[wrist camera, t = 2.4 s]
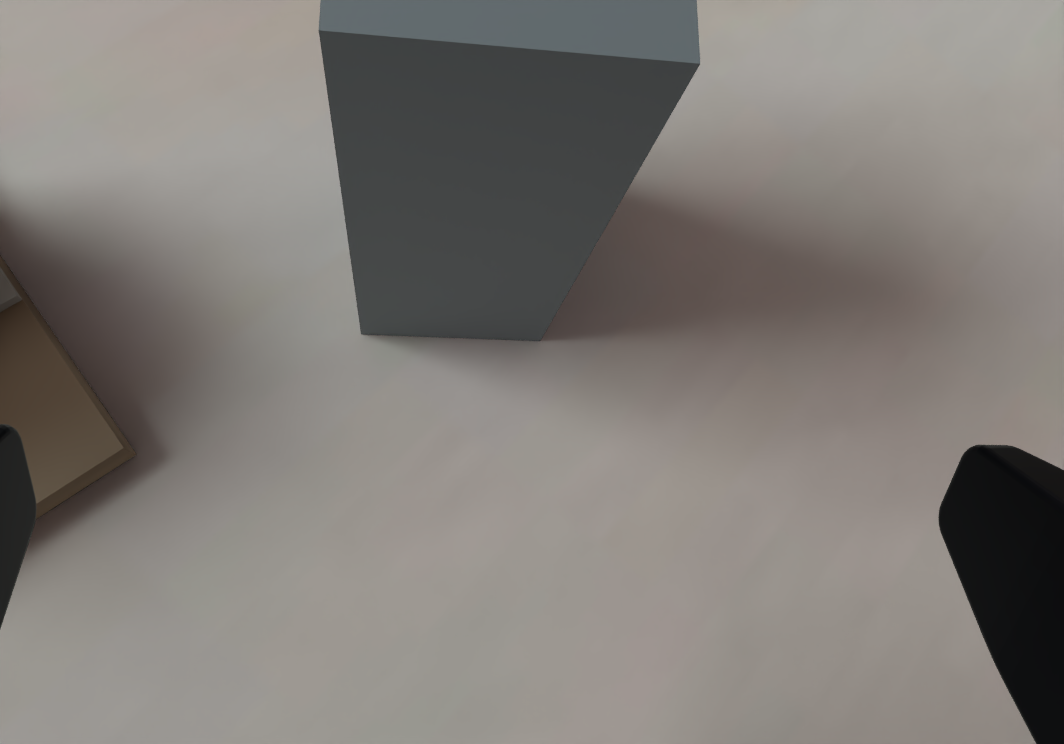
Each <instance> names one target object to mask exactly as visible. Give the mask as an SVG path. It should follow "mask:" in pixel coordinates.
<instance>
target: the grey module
mask: <svg viewBox="0 0 1064 744" xmlns="http://www.w3.org/2000/svg"><path fill="white" fill-rule="evenodd" d="M319 35H320V42H321V49H322V57H323V64H324V71H325V78H326V85H327V93H328V100H329V107H330V114H331V121H332V128H333V136H334V143H335V150H336V157H337V164H338V171H339V179H340V186H341V193H342V200H343V207H344V215H345V222H346V229H347V236H348V243H349V250H350V258H351V265H352V272H353V279H354V286H355V293H356V301H357V308H358V315H359V322H360V329H361V334H370V335H396V336H423V337H449V338H475V339H501V340H528V341H540V340H541V339H542V337H543V335H544V333H545V332H546V330H547V328H548V326H549V325H550V323H551V321H552V319H553V318H554V316H555V314H556V313H557V311H558V309H559V307H560V306H561V304H562V302H563V300H564V299H565V297H566V295H567V293H568V292H569V290H570V288H571V287H572V285H573V283H574V281H575V280H576V278H577V276H578V274H579V273H580V271H581V269H582V267H583V266H584V264H585V262H586V261H587V259H588V257H589V255H590V254H591V252H592V250H593V248H594V247H595V245H596V243H597V242H598V240H599V238H600V236H601V235H602V233H603V231H604V229H605V228H606V226H607V224H608V222H609V221H610V219H611V217H612V216H613V214H614V212H615V210H616V209H617V207H618V205H619V203H620V202H621V200H622V198H623V196H624V195H625V193H626V191H627V190H628V188H629V186H630V184H631V183H632V181H633V179H634V177H635V176H636V174H637V172H638V171H639V169H640V167H641V165H642V164H643V162H644V160H645V158H646V157H647V155H648V153H649V151H650V150H651V148H652V146H653V145H654V143H655V141H656V139H657V138H658V136H659V134H660V132H661V131H662V129H663V127H664V125H665V124H666V122H667V120H668V119H669V117H670V115H671V113H672V112H673V110H674V108H675V106H676V105H677V103H678V101H679V99H680V98H681V96H682V94H683V93H684V91H685V89H686V87H687V86H688V84H689V82H690V80H691V79H692V77H693V75H694V74H695V72H696V70H697V68H698V67H699V65H700V52H699V35H698V17H697V0H321V4H320V20H319Z"/></svg>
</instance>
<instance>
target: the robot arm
mask: <svg viewBox="0 0 1064 744" xmlns="http://www.w3.org/2000/svg"><path fill="white" fill-rule="evenodd" d="M35 519H36V497H35V493H34V489H33V484H32V480H31V476H30V472H29V468H28V464H27V459H26V455H25V451H24V447H23V443H22V440H21V437H20V435H19V433H18V431H17V430H16V429H15V428H13V427H12V426H10V425H8V424H0V629H1V625H2V622H3V619H4V616H5V613H6V610H7V607H8V604H9V601H10V598H11V595H12V592H13V589H14V586H15V583H16V580H17V577H18V574H19V571H20V568H21V564H22V561H23V558H24V555H25V552H26V549H27V546H28V543H29V540H30V537H31V534H32V531H33V528H34V524H35ZM939 526H940V531H941V534H942V536H943V539H944V541H945V544H946V546H947V549H948V551H949V554H950V556H951V559H952V561H953V564H954V566H955V569H956V571H957V573H958V576H959V578H960V581H961V583H962V586H963V588H964V591H965V593H966V596H967V598H968V601H969V603H970V606H971V608H972V610H973V613H974V615H975V618H976V620H977V623H978V625H979V628H980V630H981V633H982V635H983V638H984V640H985V642H986V645H987V647H988V649H989V652H990V654H991V656H992V658H993V661H994V663H995V665H996V667H997V669H998V671H999V673H1000V675H1001V677H1002V679H1003V681H1004V683H1005V685H1006V687H1007V689H1008V691H1009V693H1010V695H1011V697H1012V698H1013V700H1014V702H1015V704H1016V706H1017V708H1018V710H1019V712H1020V714H1021V716H1022V718H1023V719H1024V721H1025V723H1026V725H1027V727H1028V729H1029V731H1030V733H1031V735H1032V737H1033V738H1034V740H1035V742H1036V744H1064V470H1062V469H1060V468H1058V467H1056V466H1054V465H1052V464H1050V463H1048V462H1046V461H1044V460H1042V459H1040V458H1037V457H1035V456H1033V455H1031V454H1029V453H1027V452H1025V451H1023V450H1021V449H1019V448H1016V447H1013V446H1008V445H975V446H973V447H970V448H969V449H968V450H967V451H966V452H965V453H964V454H963V456H962V458H961V460H960V462H959V464H958V467H957V469H956V471H955V473H954V476H953V478H952V480H951V483H950V485H949V487H948V489H947V492H946V494H945V496H944V499H943V501H942V503H941V506H940V510H939Z"/></svg>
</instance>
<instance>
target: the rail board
mask: <svg viewBox="0 0 1064 744" xmlns="http://www.w3.org/2000/svg"><path fill="white" fill-rule="evenodd" d="M0 424H8V425H10V426H12V427H13V428H15V429H16V430H17V431H18V433H19V435H20V437H21V440H22V443H23V447H24V451H25V455H26V459H27V464H28V468H29V472H30V476H31V480H32V484H33V489H34V493H35V497H36V519H37V518H39V517H40V516H42V515H43V514H45V513H46V512H48V511H50V510H51V509H53V508H54V507H56V506H57V505H59V504H60V503H62V502H64V501H65V500H67V499H68V498H70V497H71V496H73V495H74V494H76V493H78V492H79V491H81V490H82V489H84V488H85V487H87V486H88V485H90V484H92V483H93V482H95V481H96V480H98V479H99V478H101V477H102V476H104V475H106V474H107V473H109V472H110V471H112V470H113V469H115V468H116V467H118V466H120V465H121V464H123V463H124V462H126V461H127V460H129V459H130V458H132V457H134V456H135V455H136V453H135V452H134V450H133V449H132V447H131V446H130V444H129V443H128V441H127V440H126V438H125V437H124V436H123V434H122V433H121V431H120V430H119V428H118V427H117V425H116V424H115V422H114V421H113V419H112V418H111V417H110V415H109V414H108V412H107V411H106V409H105V408H104V406H103V405H102V403H101V402H100V400H99V399H98V398H97V396H96V395H95V393H94V392H93V390H92V389H91V387H90V386H89V384H88V383H87V381H86V380H85V379H84V377H83V376H82V374H81V373H80V371H79V370H78V368H77V367H76V365H75V364H74V362H73V361H72V360H71V358H70V357H69V355H68V354H67V352H66V351H65V349H64V348H63V346H62V345H61V343H60V342H59V341H58V339H57V338H56V336H55V335H54V333H53V332H52V330H51V329H50V327H49V326H48V324H47V323H46V322H45V320H44V319H43V317H42V316H41V314H40V313H39V311H38V310H37V308H36V307H35V305H34V304H33V302H32V301H31V300H30V298H29V297H28V295H27V294H26V292H25V291H24V289H23V288H22V286H21V285H20V283H19V282H18V281H17V279H16V278H15V276H14V275H13V273H12V272H11V270H10V269H9V267H8V266H7V264H6V263H5V262H4V260H3V259H2V257H1V256H0ZM36 519H35V520H36Z"/></svg>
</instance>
